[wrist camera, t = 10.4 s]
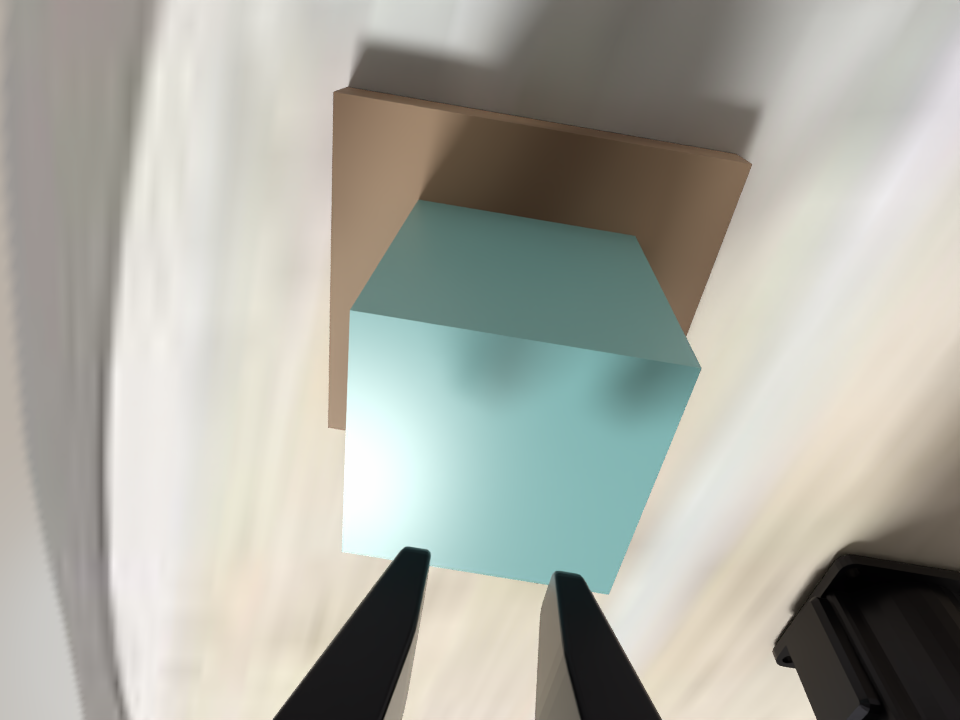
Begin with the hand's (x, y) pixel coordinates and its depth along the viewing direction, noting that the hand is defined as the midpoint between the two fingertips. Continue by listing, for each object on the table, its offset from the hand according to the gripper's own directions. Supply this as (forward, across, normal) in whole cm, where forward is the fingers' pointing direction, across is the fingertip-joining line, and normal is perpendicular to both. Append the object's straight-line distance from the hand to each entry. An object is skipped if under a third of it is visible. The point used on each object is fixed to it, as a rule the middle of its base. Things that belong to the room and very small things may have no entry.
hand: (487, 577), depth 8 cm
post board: (+10, 0, 0) cm, 10 cm away
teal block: (+9, 0, 0) cm, 9 cm away
